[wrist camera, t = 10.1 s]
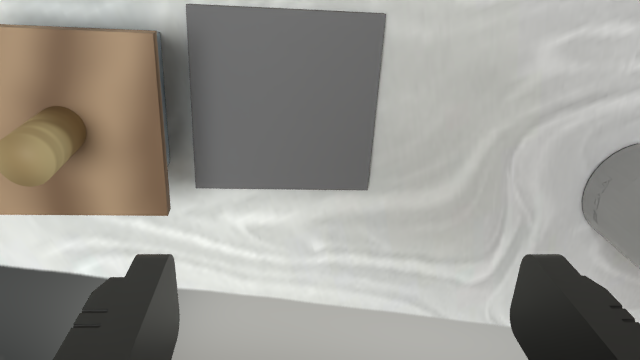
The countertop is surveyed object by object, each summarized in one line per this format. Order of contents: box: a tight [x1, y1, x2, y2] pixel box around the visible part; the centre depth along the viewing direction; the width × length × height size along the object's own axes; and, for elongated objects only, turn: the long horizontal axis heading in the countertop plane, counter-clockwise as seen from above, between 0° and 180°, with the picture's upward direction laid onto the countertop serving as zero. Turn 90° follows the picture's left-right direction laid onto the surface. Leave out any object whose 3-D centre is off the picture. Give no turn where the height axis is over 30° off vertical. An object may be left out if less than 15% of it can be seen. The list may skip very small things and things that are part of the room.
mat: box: [186, 4, 386, 190], centre depth 38 cm, size 14×14×1 cm
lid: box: [0, 24, 171, 216], centre depth 29 cm, size 12×12×6 cm
